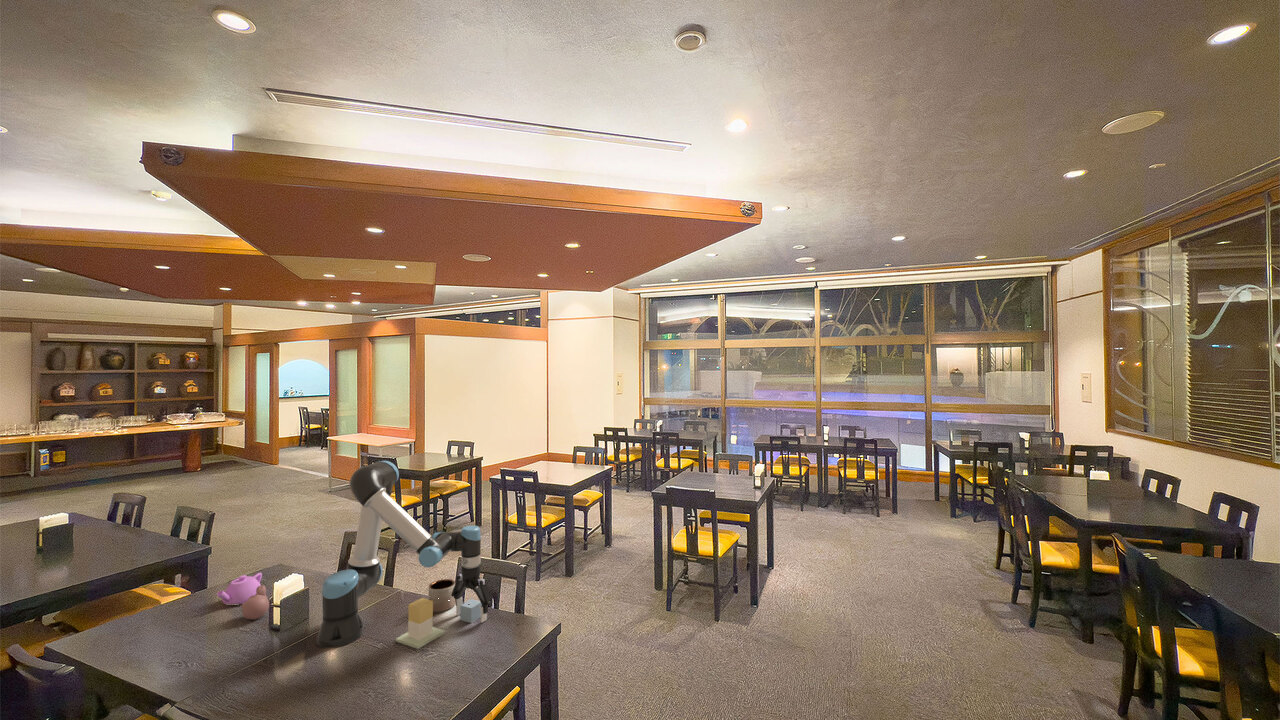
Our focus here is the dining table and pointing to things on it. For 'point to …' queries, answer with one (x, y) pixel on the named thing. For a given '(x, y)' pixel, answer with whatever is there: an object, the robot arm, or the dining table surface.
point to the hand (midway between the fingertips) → (471, 617)
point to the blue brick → (470, 611)
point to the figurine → (256, 604)
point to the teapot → (240, 589)
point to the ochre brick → (420, 610)
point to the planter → (442, 595)
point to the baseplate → (419, 642)
